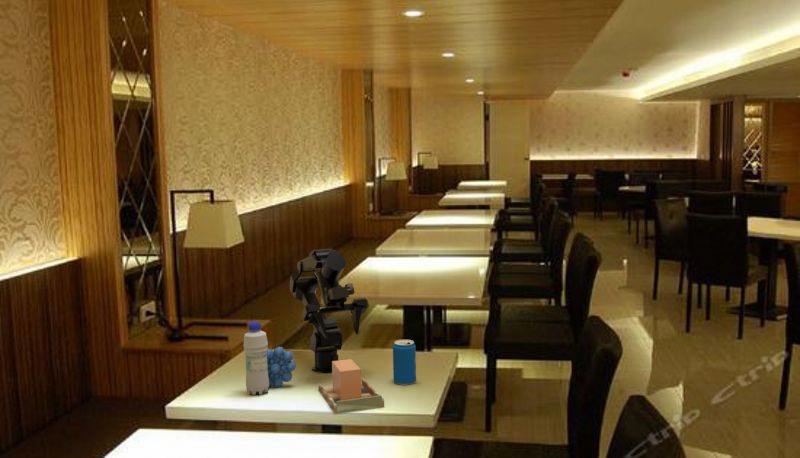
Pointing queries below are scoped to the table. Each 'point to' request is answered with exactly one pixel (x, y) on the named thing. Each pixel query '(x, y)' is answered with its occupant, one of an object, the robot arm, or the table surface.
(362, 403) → the box
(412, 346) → the beverage can
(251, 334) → the bottle
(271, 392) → the table surface
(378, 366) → the table surface
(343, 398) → the brick
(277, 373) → the grapes
